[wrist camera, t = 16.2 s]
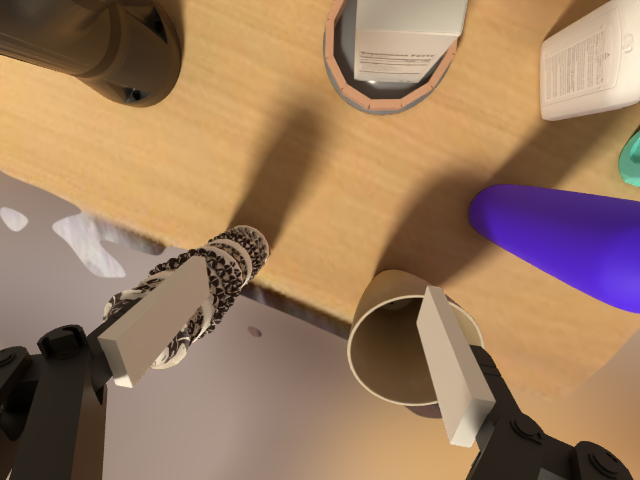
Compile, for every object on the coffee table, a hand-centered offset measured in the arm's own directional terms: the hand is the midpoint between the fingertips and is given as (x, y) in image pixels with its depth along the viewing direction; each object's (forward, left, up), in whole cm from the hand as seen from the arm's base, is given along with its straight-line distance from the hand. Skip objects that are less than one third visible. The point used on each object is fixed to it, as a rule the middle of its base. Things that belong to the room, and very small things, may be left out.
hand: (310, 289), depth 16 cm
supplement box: (-5, +22, -27) cm, 36 cm away
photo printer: (+15, +29, -28) cm, 43 cm away
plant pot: (+15, -7, -28) cm, 33 cm away
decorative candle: (-10, -14, -28) cm, 33 cm away
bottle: (+20, +12, -28) cm, 37 cm away
